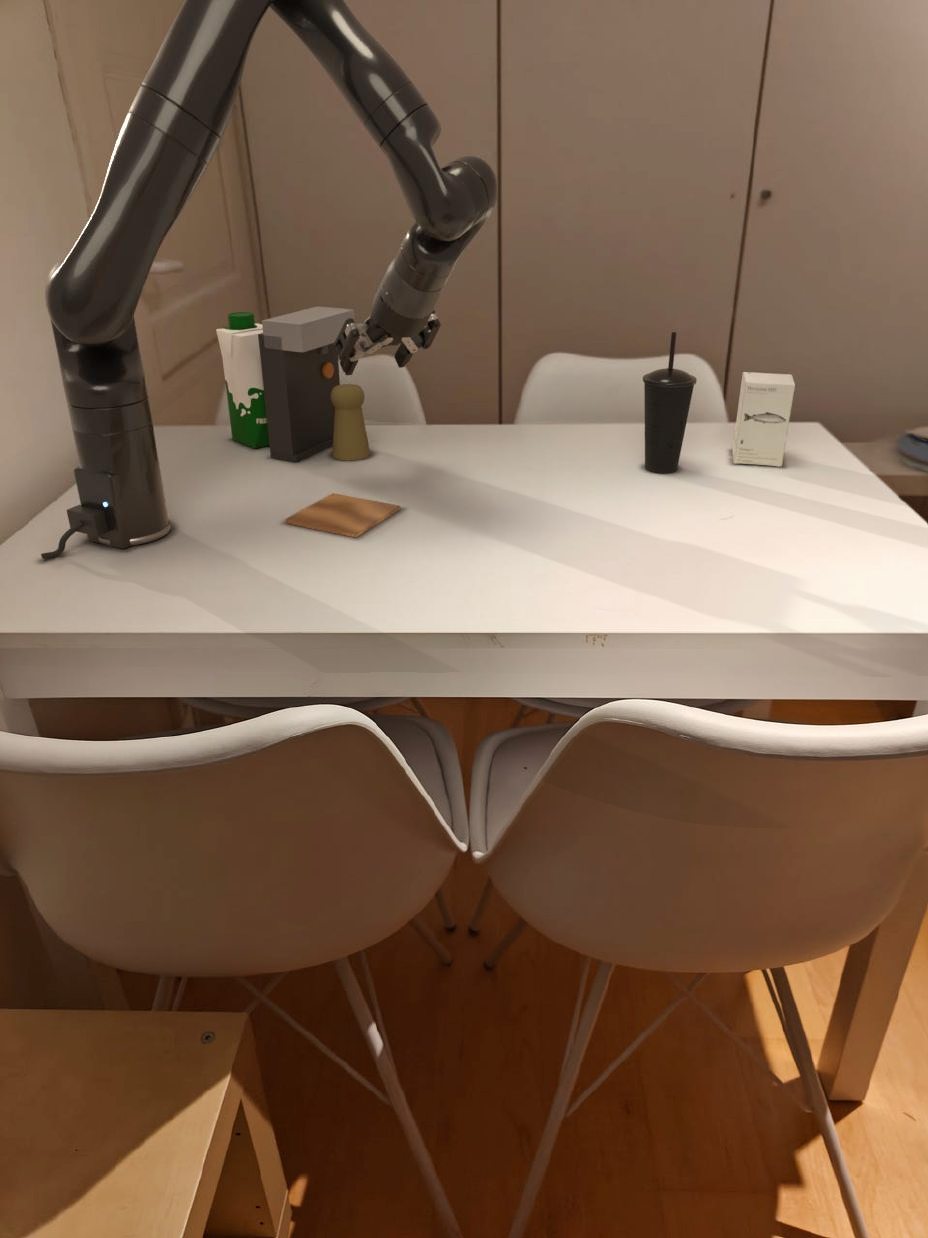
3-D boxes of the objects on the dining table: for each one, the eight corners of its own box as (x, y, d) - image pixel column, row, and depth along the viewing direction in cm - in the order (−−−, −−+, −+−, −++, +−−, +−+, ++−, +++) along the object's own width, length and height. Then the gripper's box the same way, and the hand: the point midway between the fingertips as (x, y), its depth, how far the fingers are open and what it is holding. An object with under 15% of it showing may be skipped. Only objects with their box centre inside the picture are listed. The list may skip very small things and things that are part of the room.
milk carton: (269, 429, 160) (257, 308, 151) (298, 440, 154) (287, 315, 145) (224, 439, 155) (208, 315, 146) (252, 451, 149) (237, 322, 140)
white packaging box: (732, 464, 142) (743, 381, 136) (731, 450, 148) (742, 370, 142) (782, 467, 140) (796, 384, 134) (780, 453, 147) (792, 372, 141)
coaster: (356, 537, 117) (355, 533, 117) (285, 523, 121) (285, 519, 121) (400, 509, 126) (400, 505, 125) (333, 497, 130) (332, 493, 130)
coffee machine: (312, 464, 143) (300, 324, 133) (270, 457, 146) (256, 319, 136) (361, 440, 154) (354, 309, 144) (322, 434, 157) (311, 305, 147)
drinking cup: (628, 471, 139) (639, 334, 130) (644, 457, 145) (656, 325, 136) (678, 479, 136) (693, 339, 126) (692, 464, 142) (707, 330, 132)
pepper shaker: (363, 461, 144) (359, 390, 139) (326, 459, 145) (321, 389, 140) (374, 449, 149) (371, 381, 144) (339, 447, 150) (334, 379, 145)
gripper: (445, 264, 124) (406, 338, 138) (349, 272, 117) (318, 350, 131) (466, 311, 122) (425, 381, 136) (370, 322, 115) (337, 395, 129)
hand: (372, 366), depth 133 cm, fingers open, 8 cm apart
